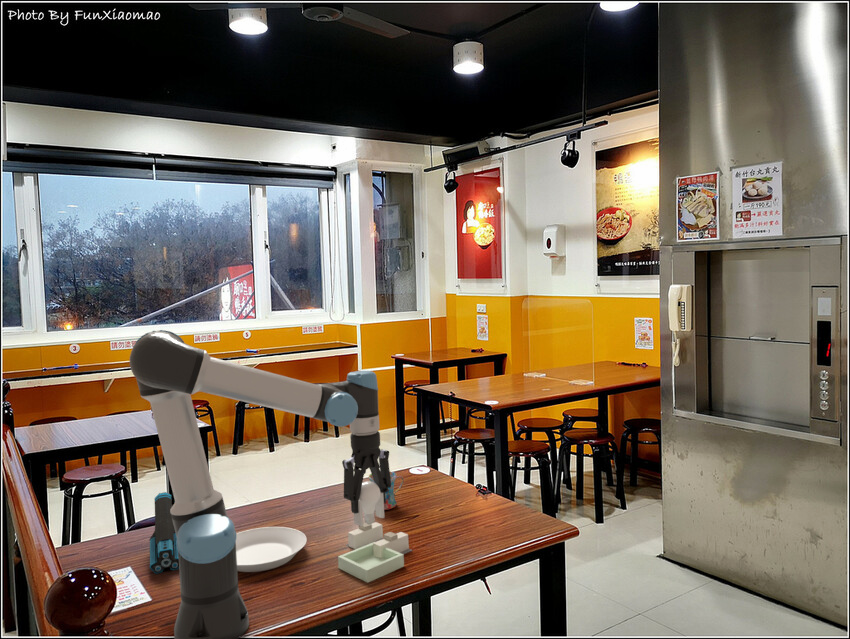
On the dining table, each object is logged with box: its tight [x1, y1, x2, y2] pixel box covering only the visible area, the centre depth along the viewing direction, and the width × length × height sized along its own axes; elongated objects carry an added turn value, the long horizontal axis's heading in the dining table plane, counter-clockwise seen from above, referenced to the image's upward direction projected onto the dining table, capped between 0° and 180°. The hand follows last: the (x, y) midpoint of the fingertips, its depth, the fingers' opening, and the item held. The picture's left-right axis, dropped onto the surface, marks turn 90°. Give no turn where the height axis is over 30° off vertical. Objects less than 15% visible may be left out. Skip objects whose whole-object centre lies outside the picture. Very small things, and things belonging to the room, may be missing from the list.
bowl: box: [236, 526, 308, 573], centre depth 172 cm, size 25×25×4 cm
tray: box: [337, 542, 405, 584], centre depth 162 cm, size 12×12×3 cm
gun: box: [149, 491, 179, 574], centre depth 175 cm, size 8×26×15 cm, turn 23°
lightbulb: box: [359, 480, 381, 524], centre depth 162 cm, size 6×6×11 cm
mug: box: [367, 471, 405, 511], centre depth 207 cm, size 12×9×11 cm
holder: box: [345, 521, 413, 559], centre depth 174 cm, size 10×17×6 cm, turn 44°
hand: (369, 520), depth 162 cm, fingers closed on lightbulb, 6 cm apart
